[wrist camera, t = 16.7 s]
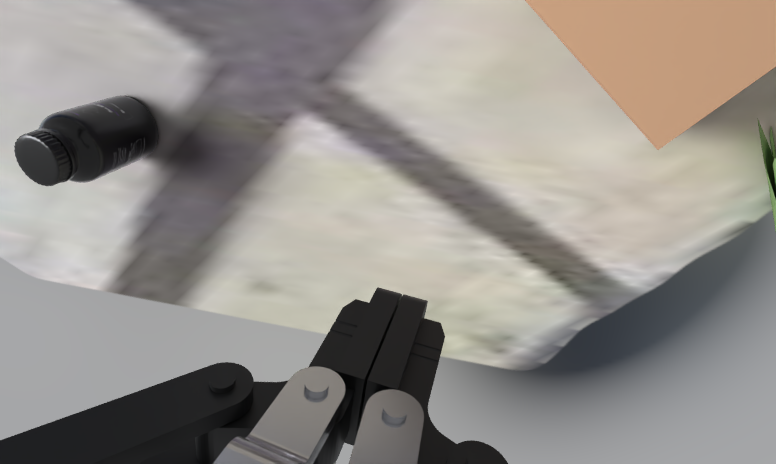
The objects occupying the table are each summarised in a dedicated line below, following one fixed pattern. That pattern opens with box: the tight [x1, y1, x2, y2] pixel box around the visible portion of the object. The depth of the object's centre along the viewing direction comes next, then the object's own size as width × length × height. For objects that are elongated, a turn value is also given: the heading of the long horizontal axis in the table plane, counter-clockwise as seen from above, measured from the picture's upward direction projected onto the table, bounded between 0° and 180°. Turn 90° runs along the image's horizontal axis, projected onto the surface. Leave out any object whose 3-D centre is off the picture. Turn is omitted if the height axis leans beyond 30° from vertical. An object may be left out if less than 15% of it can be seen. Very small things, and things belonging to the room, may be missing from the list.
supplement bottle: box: [14, 96, 158, 186], centre depth 49 cm, size 7×7×12 cm
